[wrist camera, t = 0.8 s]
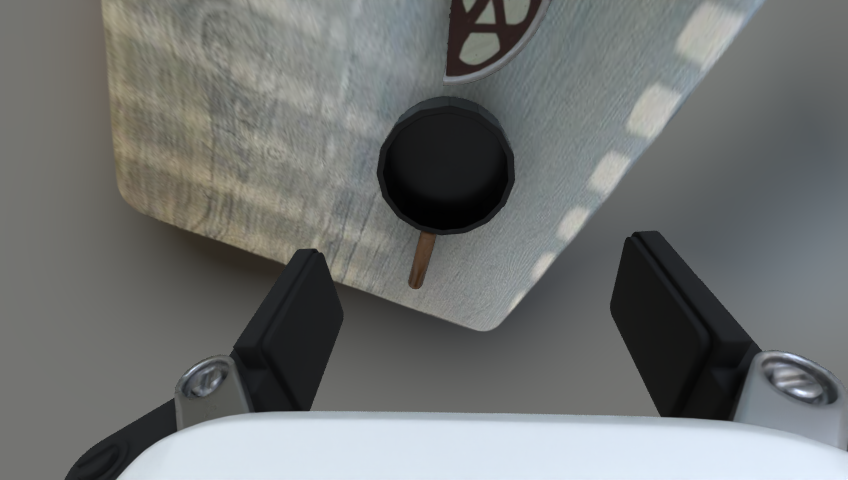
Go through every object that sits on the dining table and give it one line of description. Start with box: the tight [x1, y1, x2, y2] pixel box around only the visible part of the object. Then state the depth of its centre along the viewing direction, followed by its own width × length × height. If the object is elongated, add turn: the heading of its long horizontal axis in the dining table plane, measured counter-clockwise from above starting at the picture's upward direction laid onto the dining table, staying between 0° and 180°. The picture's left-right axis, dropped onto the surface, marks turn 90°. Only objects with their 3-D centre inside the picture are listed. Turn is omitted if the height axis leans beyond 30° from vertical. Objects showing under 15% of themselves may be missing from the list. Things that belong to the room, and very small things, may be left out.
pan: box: [377, 96, 515, 289], centre depth 36 cm, size 21×12×4 cm, turn 167°
